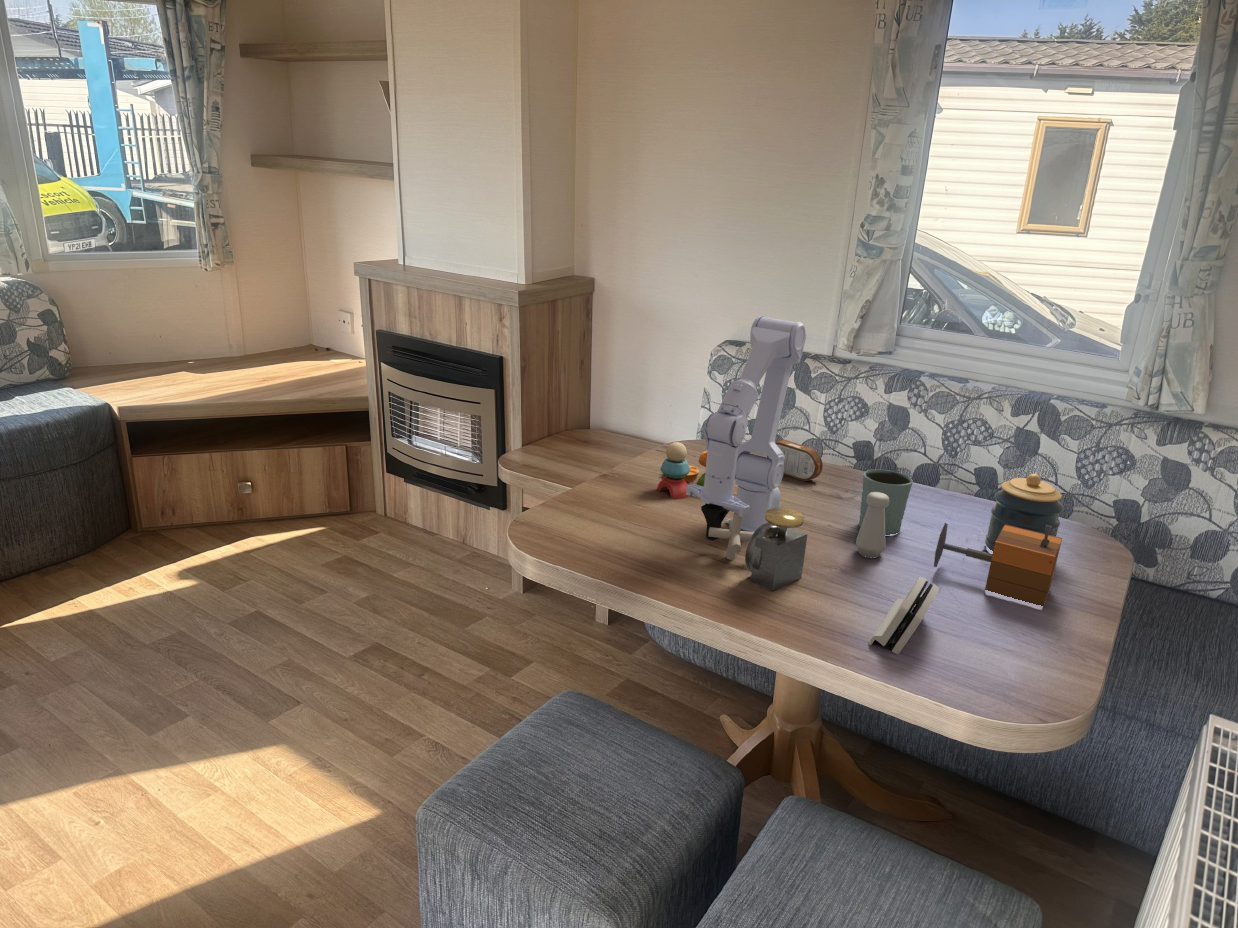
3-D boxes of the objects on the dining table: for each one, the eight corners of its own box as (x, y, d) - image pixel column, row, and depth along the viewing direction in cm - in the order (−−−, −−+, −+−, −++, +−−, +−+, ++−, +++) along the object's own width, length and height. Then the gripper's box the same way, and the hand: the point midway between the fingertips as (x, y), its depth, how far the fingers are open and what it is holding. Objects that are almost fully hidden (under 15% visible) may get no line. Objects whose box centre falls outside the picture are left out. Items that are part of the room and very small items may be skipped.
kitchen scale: (775, 564, 170) (783, 502, 166) (807, 578, 165) (816, 515, 161) (742, 578, 163) (750, 514, 159) (775, 594, 158) (783, 527, 154)
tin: (820, 483, 217) (825, 450, 214) (814, 485, 215) (818, 453, 212) (770, 466, 226) (774, 435, 224) (763, 469, 224) (766, 437, 221)
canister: (1059, 555, 183) (1079, 476, 177) (1038, 573, 173) (1058, 490, 168) (997, 536, 191) (1013, 459, 185) (973, 552, 182) (990, 472, 176)
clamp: (941, 561, 177) (955, 495, 172) (1049, 590, 167) (1066, 520, 162) (929, 580, 168) (942, 510, 163) (1042, 611, 158) (1059, 539, 154)
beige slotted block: (892, 605, 157) (920, 562, 152) (916, 620, 155) (945, 577, 151) (867, 645, 143) (897, 599, 139) (893, 662, 142) (924, 616, 137)
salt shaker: (886, 552, 179) (896, 492, 175) (881, 562, 174) (892, 501, 170) (857, 545, 181) (866, 486, 177) (851, 555, 176) (861, 495, 172)
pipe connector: (758, 573, 168) (767, 528, 163) (706, 567, 168) (714, 522, 163) (754, 547, 177) (762, 503, 172) (704, 541, 177) (712, 497, 172)
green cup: (852, 531, 188) (860, 479, 184) (858, 516, 197) (866, 465, 193) (901, 541, 185) (910, 488, 181) (905, 525, 194) (914, 473, 190)
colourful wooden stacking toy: (685, 469, 221) (690, 421, 217) (737, 490, 209) (742, 440, 205) (632, 482, 209) (635, 432, 205) (683, 505, 197) (688, 452, 193)
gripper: (678, 467, 171) (672, 531, 176) (736, 489, 162) (728, 556, 166) (702, 461, 176) (695, 523, 180) (759, 482, 166) (751, 547, 171)
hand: (712, 538), depth 173 cm, fingers closed, pressing on pipe connector
